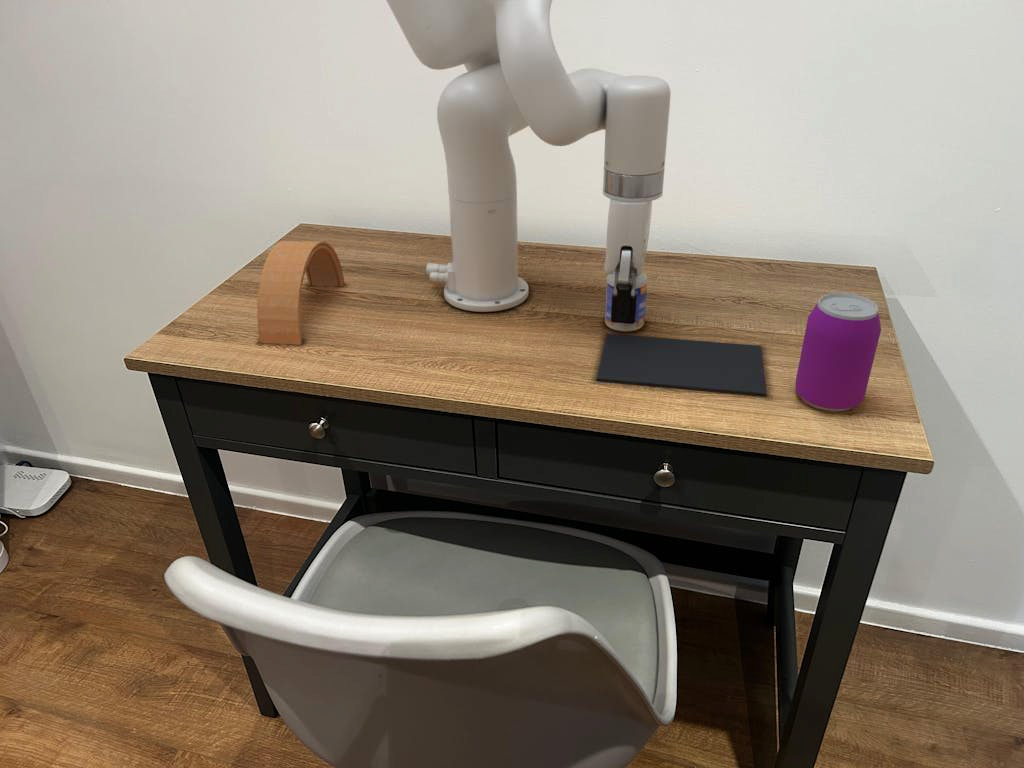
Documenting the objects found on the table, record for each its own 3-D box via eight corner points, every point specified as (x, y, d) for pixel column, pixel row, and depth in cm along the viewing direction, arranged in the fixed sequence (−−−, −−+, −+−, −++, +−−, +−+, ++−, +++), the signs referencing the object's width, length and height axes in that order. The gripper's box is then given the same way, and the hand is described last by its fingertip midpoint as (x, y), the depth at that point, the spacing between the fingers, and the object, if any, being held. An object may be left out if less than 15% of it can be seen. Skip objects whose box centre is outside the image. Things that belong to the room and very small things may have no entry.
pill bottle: (646, 332, 109) (651, 265, 104) (606, 332, 109) (609, 266, 104) (641, 314, 114) (646, 250, 108) (602, 315, 114) (606, 250, 109)
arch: (345, 283, 124) (337, 221, 119) (300, 345, 107) (288, 275, 102) (309, 282, 125) (300, 220, 120) (258, 342, 108) (244, 274, 103)
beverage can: (855, 383, 97) (877, 291, 91) (868, 417, 90) (893, 322, 84) (789, 378, 98) (806, 288, 92) (798, 412, 91) (817, 318, 85)
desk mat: (596, 380, 98) (596, 378, 98) (606, 335, 108) (606, 333, 108) (766, 396, 95) (766, 393, 94) (760, 348, 105) (760, 345, 104)
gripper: (610, 161, 109) (604, 283, 118) (595, 202, 94) (590, 337, 104) (666, 163, 107) (656, 287, 117) (660, 205, 93) (649, 342, 102)
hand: (625, 309), depth 110 cm, fingers open, 6 cm apart
